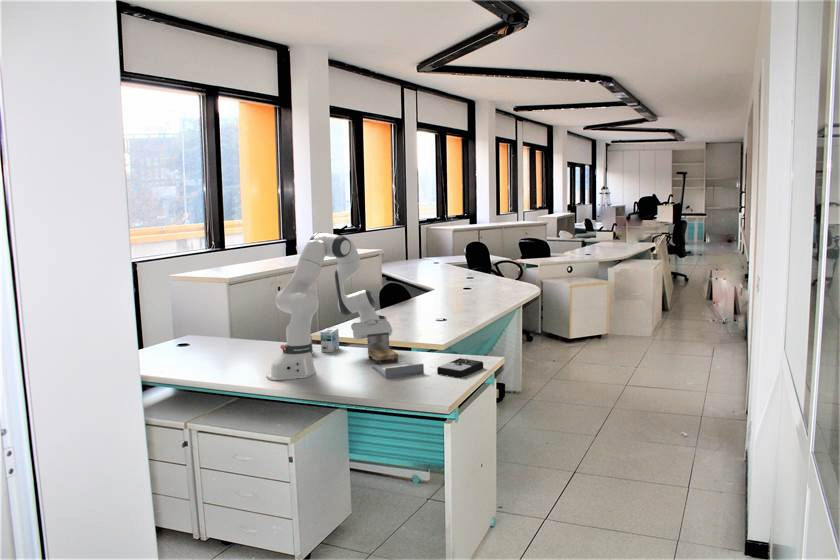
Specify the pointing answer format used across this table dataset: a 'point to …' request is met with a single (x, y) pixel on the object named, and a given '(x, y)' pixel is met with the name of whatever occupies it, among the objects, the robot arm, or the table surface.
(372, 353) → the open brown box
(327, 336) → the light bulb box
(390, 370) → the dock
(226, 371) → the table surface
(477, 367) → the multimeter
